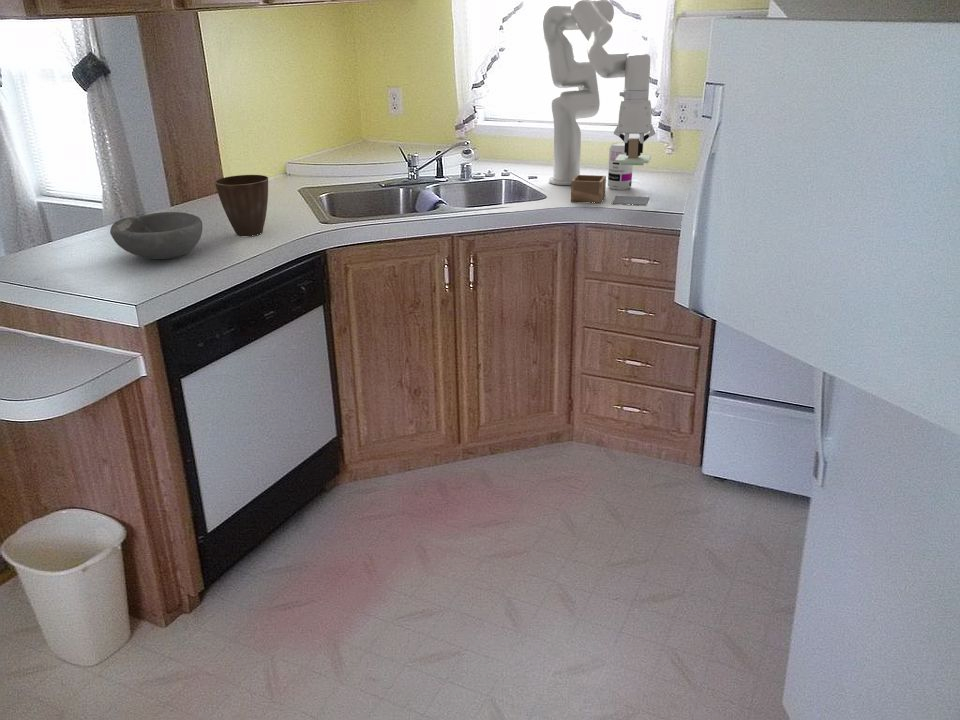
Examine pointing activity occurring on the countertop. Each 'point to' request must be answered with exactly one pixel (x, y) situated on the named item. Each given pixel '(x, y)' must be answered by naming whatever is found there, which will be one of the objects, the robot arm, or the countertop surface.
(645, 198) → the coaster
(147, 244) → the bowl
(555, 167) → the robot arm
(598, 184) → the tea box
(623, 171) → the supplement can
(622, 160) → the lid
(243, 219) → the plant pot
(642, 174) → the countertop surface
